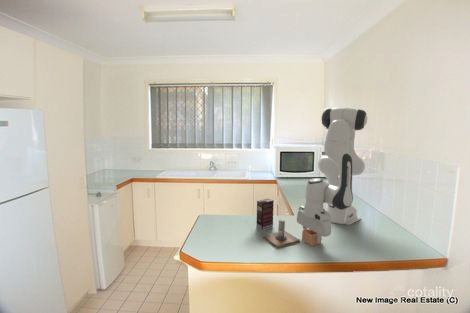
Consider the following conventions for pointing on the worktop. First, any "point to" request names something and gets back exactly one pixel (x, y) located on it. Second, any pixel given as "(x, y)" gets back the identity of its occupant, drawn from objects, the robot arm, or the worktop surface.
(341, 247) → the worktop surface
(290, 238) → the post board
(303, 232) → the ring
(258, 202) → the supplement box
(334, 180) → the robot arm
